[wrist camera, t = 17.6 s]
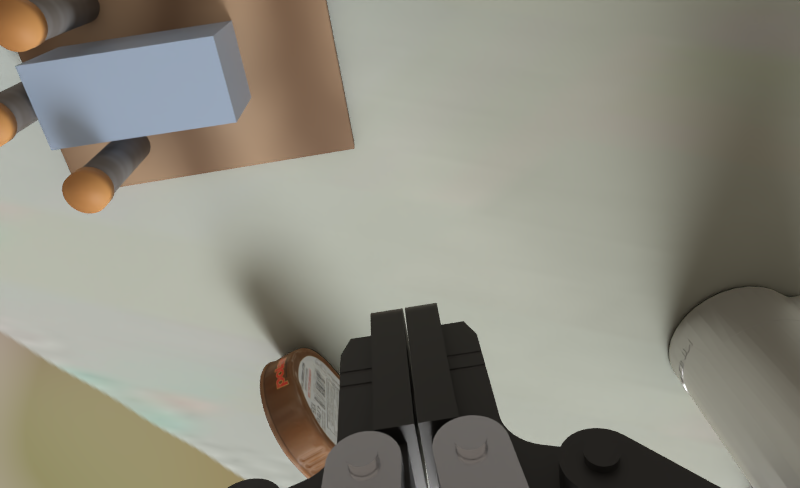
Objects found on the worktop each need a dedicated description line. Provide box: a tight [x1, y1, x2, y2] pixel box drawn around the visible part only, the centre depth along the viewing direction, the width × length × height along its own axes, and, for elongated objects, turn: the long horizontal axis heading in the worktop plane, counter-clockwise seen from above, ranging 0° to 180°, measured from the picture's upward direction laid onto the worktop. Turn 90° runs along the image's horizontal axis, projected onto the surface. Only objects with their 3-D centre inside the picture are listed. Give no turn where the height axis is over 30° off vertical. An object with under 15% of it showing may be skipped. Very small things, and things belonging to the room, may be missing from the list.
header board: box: [0, 0, 354, 213], centre depth 29 cm, size 16×12×8 cm
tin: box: [260, 348, 340, 479], centre depth 41 cm, size 15×3×8 cm, turn 31°
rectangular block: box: [15, 21, 251, 150], centre depth 30 cm, size 4×9×4 cm, turn 98°
